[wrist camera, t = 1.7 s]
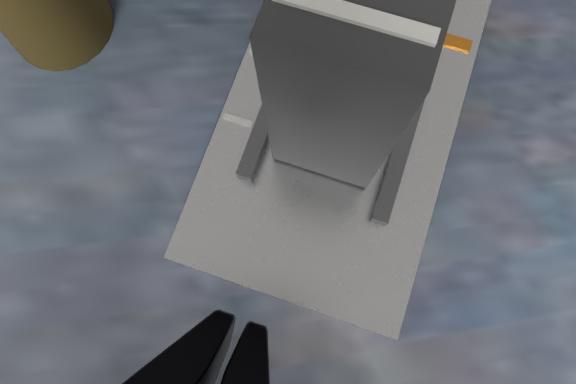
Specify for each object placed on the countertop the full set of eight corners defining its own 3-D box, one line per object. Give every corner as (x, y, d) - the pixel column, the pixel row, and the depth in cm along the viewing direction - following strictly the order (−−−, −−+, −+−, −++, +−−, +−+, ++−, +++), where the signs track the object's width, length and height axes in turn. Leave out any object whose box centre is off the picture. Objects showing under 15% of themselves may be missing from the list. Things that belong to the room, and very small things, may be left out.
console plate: (393, 338, 22) (402, 342, 20) (169, 259, 23) (157, 256, 21) (487, -1, 26) (502, -25, 24) (293, -54, 27) (292, -81, 25)
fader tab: (366, 188, 22) (431, 88, 11) (272, 158, 23) (248, 33, 12) (382, 134, 23) (460, -10, 12) (291, 106, 23) (285, -57, 12)
